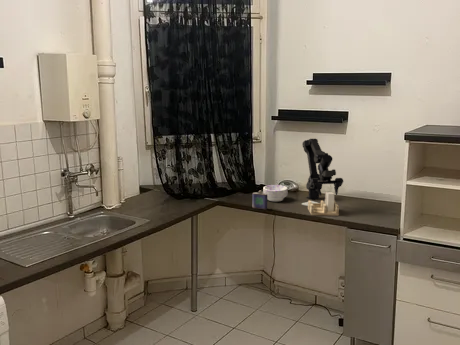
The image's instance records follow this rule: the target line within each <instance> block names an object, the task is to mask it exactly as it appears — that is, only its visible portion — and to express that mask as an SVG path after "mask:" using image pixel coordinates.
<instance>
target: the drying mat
mask: <svg viewBox="0 0 460 345" xmlns="http://www.w3.org/2000/svg"><path fill="white" fill-rule="evenodd" d="M311 202H312V203H318V202H317V201H314V200H311ZM301 205H302V206H306V207H308V201H306V202H302V203H301Z"/></svg>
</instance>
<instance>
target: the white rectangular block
mask: <svg viewBox="0 0 460 345" xmlns="http://www.w3.org/2000/svg"><path fill="white" fill-rule="evenodd" d="M334 201H335V192H332V191H325V192H324V203H325V204H326V206H327V211H334Z"/></svg>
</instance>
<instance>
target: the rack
mask: <svg viewBox="0 0 460 345" xmlns="http://www.w3.org/2000/svg"><path fill="white" fill-rule="evenodd" d="M311 201H312V199H308V201H307V202H308V206H307V210H308V212H309V213H310V216H330V217H331V216H332V217H333V216H337V217H338V216H339V215H340V212H339V211H340V210H339V209H340V206H339V205H338V203H337V202H336V200H334V211H327V206H326V204H325V200H323V199H322V200H321V199H320V202H317V203H312V202H311Z"/></svg>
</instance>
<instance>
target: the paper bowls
mask: <svg viewBox="0 0 460 345" xmlns="http://www.w3.org/2000/svg"><path fill="white" fill-rule="evenodd" d="M262 190H263V191H262V193H265V194H267V201H270V202H281V201H284V199H285V198H286V197H288V190H289V189H288V187H287V186H285V185H282V184H268V185H265V186H263V189H262Z"/></svg>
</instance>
